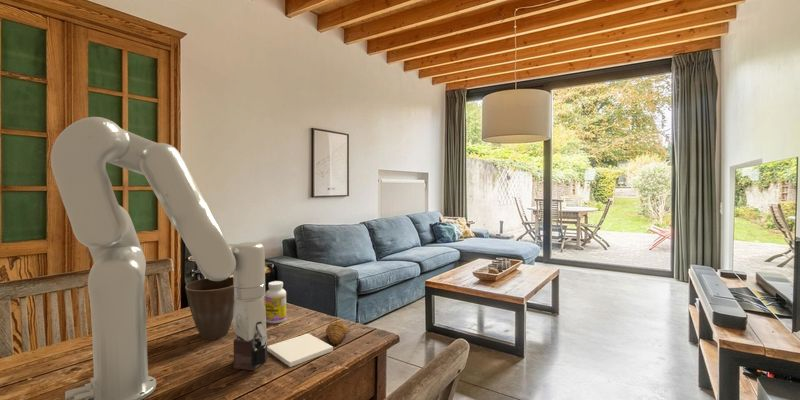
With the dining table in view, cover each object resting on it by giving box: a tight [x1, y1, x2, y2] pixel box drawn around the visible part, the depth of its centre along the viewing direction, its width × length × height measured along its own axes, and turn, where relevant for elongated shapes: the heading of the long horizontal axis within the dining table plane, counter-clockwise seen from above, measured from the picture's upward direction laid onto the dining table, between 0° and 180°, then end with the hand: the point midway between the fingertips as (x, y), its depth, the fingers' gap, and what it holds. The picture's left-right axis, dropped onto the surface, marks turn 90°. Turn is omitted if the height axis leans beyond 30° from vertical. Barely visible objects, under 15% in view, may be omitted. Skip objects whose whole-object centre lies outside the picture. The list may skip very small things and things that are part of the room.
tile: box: [267, 332, 334, 368], centre depth 105 cm, size 13×13×1 cm
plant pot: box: [184, 276, 234, 340], centre depth 116 cm, size 15×15×16 cm
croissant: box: [325, 320, 349, 346], centre depth 115 cm, size 14×7×5 cm, turn 4°
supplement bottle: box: [264, 280, 287, 324], centre depth 128 cm, size 7×7×13 cm
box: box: [232, 332, 268, 371], centre depth 97 cm, size 6×6×7 cm
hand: (250, 358), depth 97 cm, fingers closed on box, 8 cm apart
